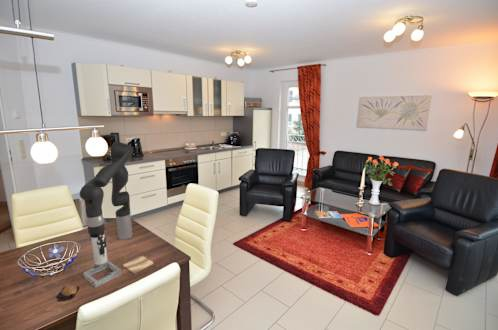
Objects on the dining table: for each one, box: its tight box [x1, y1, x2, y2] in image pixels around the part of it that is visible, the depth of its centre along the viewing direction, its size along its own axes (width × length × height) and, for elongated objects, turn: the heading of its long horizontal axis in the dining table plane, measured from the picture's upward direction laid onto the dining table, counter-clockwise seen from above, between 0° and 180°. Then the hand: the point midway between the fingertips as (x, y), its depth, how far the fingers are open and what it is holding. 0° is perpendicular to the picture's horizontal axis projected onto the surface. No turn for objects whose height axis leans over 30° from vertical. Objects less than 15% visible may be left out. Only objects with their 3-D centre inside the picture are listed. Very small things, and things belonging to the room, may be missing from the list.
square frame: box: [83, 260, 122, 289], centre depth 138 cm, size 13×13×4 cm
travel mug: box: [90, 230, 109, 266], centre depth 135 cm, size 6×7×20 cm
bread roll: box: [56, 284, 81, 303], centre depth 125 cm, size 11×8×4 cm
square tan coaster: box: [122, 255, 154, 275], centre depth 149 cm, size 12×12×1 cm
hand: (99, 251), depth 136 cm, fingers closed on travel mug, 6 cm apart
